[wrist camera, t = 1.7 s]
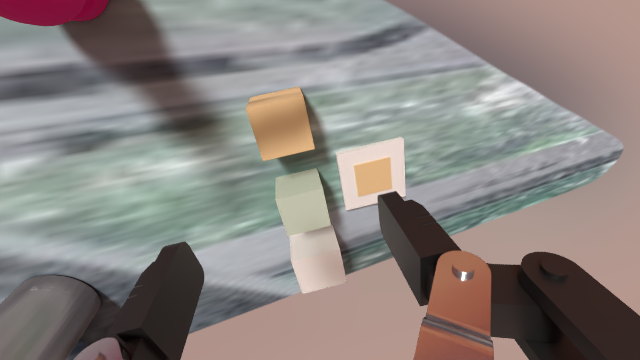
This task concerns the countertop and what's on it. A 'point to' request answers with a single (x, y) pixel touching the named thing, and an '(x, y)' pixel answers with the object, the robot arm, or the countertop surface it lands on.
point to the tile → (371, 172)
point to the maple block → (280, 123)
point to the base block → (317, 259)
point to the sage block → (302, 202)
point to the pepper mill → (51, 11)
